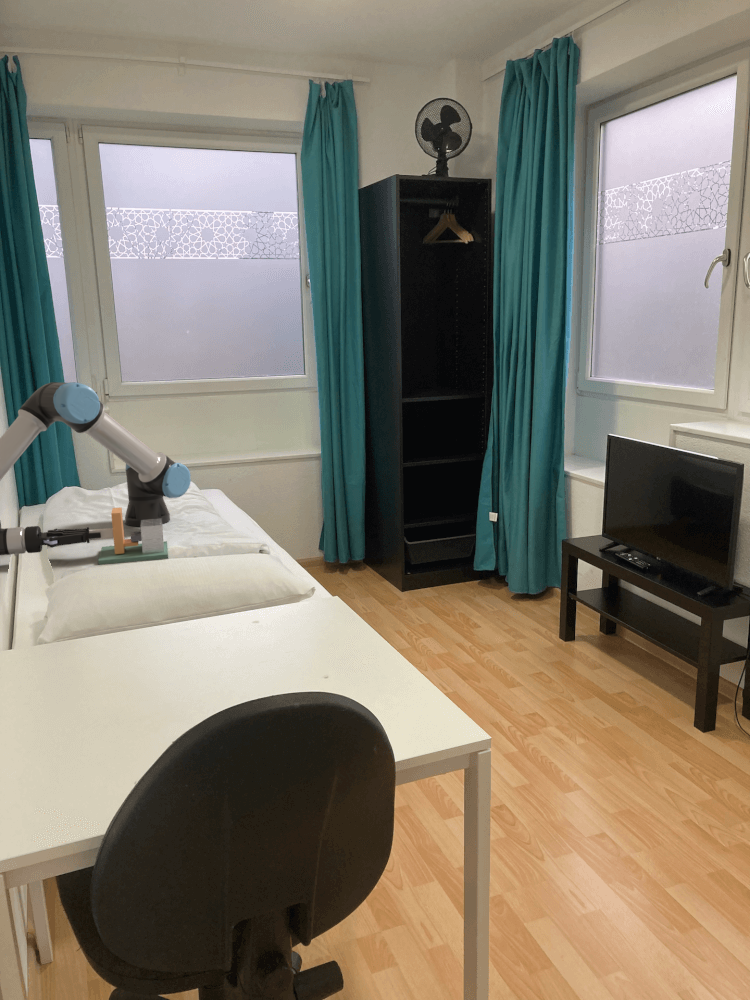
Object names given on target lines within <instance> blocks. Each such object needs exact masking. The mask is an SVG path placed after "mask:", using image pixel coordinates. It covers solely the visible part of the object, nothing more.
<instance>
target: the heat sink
mask: <svg viewBox="0 0 750 1000" xmlns="http://www.w3.org/2000/svg"><path fill="white" fill-rule="evenodd" d="M130 539H131V542H136V541H139V542H141V543H142V551H143V554H148V553H160V552H164V542H165V541H164V532H163V524H162V518H161V519H148V520H141V526H140V530H139V531H131V532H130Z"/></svg>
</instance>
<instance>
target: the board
mask: <svg viewBox="0 0 750 1000" xmlns="http://www.w3.org/2000/svg"><path fill="white" fill-rule="evenodd" d="M100 548H101V549H100V553H99V556H98V559H97V560H98V565H99V566H100V565H108V564H109V565H110V564H120V563H122V564H123V563H130V562H131V563H132V562H143V561H152V560H153V561H155V560H165V559H167V560H168V559H169V551H168V541H164V552H160V553H148V554H143V551H142V542H141V543H138V546H128V547H125V551H124V553H123V554H115V548H114V545H109V546H108V545H107V546H101V547H100Z"/></svg>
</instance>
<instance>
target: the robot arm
mask: <svg viewBox="0 0 750 1000" xmlns="http://www.w3.org/2000/svg"><path fill="white" fill-rule="evenodd" d="M17 414H18V416H17V417H16V419H15V420H14V421H12V423H11V425H9V427H8V428H7V429H6V431H5V432H4V433H3V434H2V435H1V437H0V482H1V481H2V480H3V478H4V477H5V475H6V474H8V472H9V471H10V470H11V468H12V467H13V466H14V465H15V464H16V462H17V461H18V460H19V459H20V457H21V456H22V455H23V453H24V452H25V451H26V450H27V449H28V448H29V446H30V445H31V444H32V443H33V441H34V440H35V439H36V438H37V436H39V434H40V433H41V432H46V431H47V430H48V429H49V427H50V426H52V425H53V424H54V423H56V422H62V423H64V424H65V425H66V426H67V427H70V429H72V430H73V431H74V432H76V433H77V434H84V433H85V434H87V435H88V436H89V437H91V438H92V439H93V440H94V441H96V442H97V443H99V444H100V445H101V446H102V447H104V448H105V449H106V450H108V451H109V452H110V453H112V454H113V455H114V456H115V457H116V458H118V459H120V460H121V461H122V462H123V463H124V464H125V474H126V486H127V497H128V503H127V508H126V511H125V515H124V522H125V523H126V524H127V526H130V525H131V527H141V520H148V519H161V518H162V525H163V524H166V523H169V522H170V521H171V516H170V512H169V509H168V507H167V505H166V502H165V499H164V497H166V498H169V499H172V498H174V499H177V498H178V499H179V498H180V497H182V496H184V495H185V494H186V493H187V491H188V490H189V489H190V486H191V481H192V479H191V476H192V475H191V471H190V470H189V468H188V467H187V466H186V465H185V464H183V463H181V462H175V461H174V460H172V459H171V458H170V457H169V456H168V455H167V454H165V453H164V452H156V451H154V450H153V449H152V448H150V447H149V446H148V445H147V444H145V443H144V442H143V441H141V440H140V439H139V438H138V437H137V436H135V435H134V434H133V433H132V432H130V431H129V430H128V429H127V428H126V427H124V426H123V425H122V424H120V423H119V422H118V421H117V420H115V419H114V418H113V417H112V416H111V415H109V414H108V413H107V412H105V405H104V403H103V402H101V401H100V398H99V396H98V394H97V393H96V391H95V390H94V389H93V388H91V387H90V386H89V385H86V384H84V383H81V382H57V381H54V382H49V383H46V384H44V385H42V386H40V387H39V388H37V390H35V391H34V392H33V393H32V394H31V395H30V396H29V398H27V399H26V401H25V402H24V403H23V404H22V405H21V407H20V408H19V409H18V411H17ZM1 522H2V521H0V556H8V555H9V556H10V555H14V556H15V557H17V556H19V554H25V553H26V552H27V553H28V554H32V553H33V554H35V553H41V552H42V551H43V546H47V547H49V548H54V547H60V546H67V545H74V544H80V543H81V544H83V543H86V544H89V543H90V541H96V540H97V541H98V540H106V539H107V540H109V539H114V537H113V527H109V528H97V529H95V528H94V529H90V527H89V526H88V527H86V528H62V529H61V528H54V529H49V530H47V531H45V532H42V529H41V526H39V525H34V526H33V525H32V526H26V527H25V528H24V527H23V526H16V527H8V528H2V523H1ZM125 523H124V524H125ZM126 524H125V525H126Z"/></svg>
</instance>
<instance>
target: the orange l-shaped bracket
mask: <svg viewBox="0 0 750 1000" xmlns="http://www.w3.org/2000/svg"><path fill="white" fill-rule="evenodd" d="M122 508H123V507H112V509H111V512H110V513H111V522H112V523H111V524H112V525H111V527H112V528H113V537H114V538H113V546H114V548H115V554H123V553H124V551H125V547H128V546H138V544H139V543H140V541H136V542H131V538H126V539H125V531H124V522H123V521H124V518H123V509H122Z"/></svg>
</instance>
